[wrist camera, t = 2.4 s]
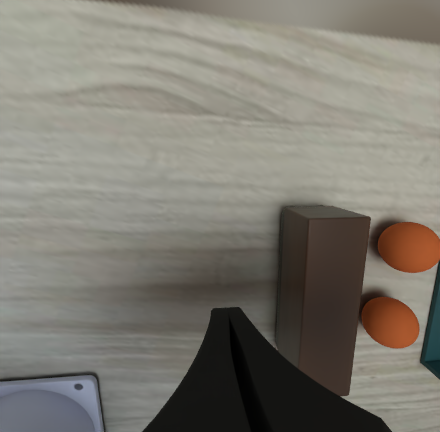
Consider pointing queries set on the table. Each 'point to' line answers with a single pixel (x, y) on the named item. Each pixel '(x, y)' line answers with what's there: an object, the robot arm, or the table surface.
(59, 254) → the table surface
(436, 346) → the dustpan
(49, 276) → the table surface
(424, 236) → the ball
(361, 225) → the brush
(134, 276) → the table surface
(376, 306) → the ball
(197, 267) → the table surface
